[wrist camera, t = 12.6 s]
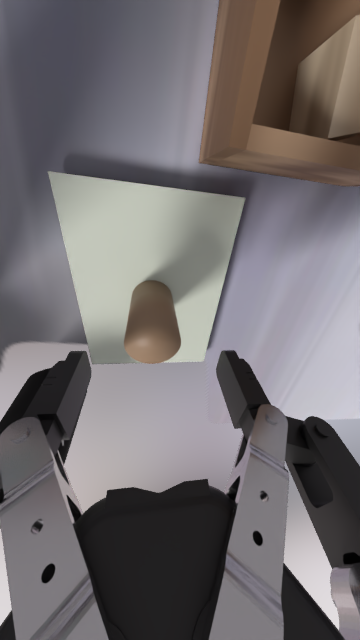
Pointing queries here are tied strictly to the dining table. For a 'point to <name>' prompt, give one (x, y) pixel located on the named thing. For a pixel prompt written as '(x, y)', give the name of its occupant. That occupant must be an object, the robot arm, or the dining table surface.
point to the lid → (145, 265)
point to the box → (272, 90)
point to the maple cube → (330, 88)
